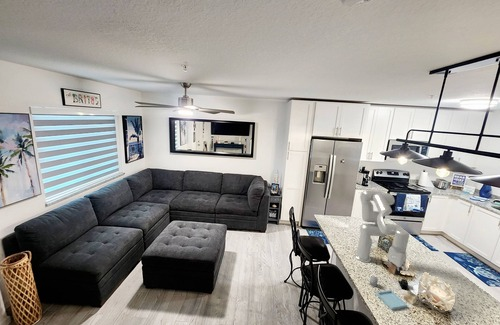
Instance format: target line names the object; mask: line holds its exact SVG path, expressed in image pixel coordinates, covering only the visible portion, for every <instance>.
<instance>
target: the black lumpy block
mask: <svg viewBox="0 0 500 325" xmlns="http://www.w3.org/2000/svg"><path fill="white" fill-rule="evenodd" d="M397 282H398V284H399V287H400V288H401V290H403V291H406V292H407V291H410V292H412V291H411V290H410V288H409V282H408V280H407V279H405V278H402V279H401V280H398V279H397Z"/></svg>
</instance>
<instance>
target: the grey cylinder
mask: <svg viewBox="0 0 500 325" xmlns="http://www.w3.org/2000/svg"><path fill="white" fill-rule="evenodd" d="M378 281H379V279H378V278H377V277H376V276H374V275H372V276H371V277H370V279H369V285H370V286H372V288H376V287H377V286H378V283H379V282H378Z"/></svg>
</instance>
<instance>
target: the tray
mask: <svg viewBox="0 0 500 325" xmlns="http://www.w3.org/2000/svg"><path fill="white" fill-rule="evenodd" d="M375 293H376V294H375V295H376V296H377V297H378V298H379V299H380V300H381V301H382V302H383V303H384V304H385V305H386V307H388V308H389V309H390V310H391V311H393V310H400V309H406V308H407V307H408V304H407V303H406V301H403V299H401V298H400V297H399V296H398V295H397V294H396V293H395V292H394V291H393V290H391V289H390V290H383V291H376V292H375Z"/></svg>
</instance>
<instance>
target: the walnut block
mask: <svg viewBox="0 0 500 325" xmlns="http://www.w3.org/2000/svg"><path fill="white" fill-rule="evenodd" d="M388 268H389V269H388ZM388 268H387V269H388V272H389V273H391V274H392V275H393V276H396V275H395V272H396V269H397V266H396V265H395V264H393V263H390V264H389V263H388ZM399 268H400V267H399Z"/></svg>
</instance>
